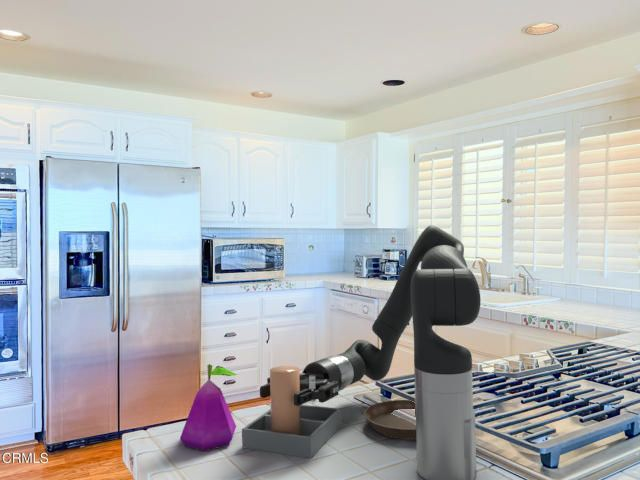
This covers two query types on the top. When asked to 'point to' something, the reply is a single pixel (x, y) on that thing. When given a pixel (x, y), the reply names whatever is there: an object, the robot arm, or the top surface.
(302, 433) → the divided storage tray
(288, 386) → the peach pillar candle
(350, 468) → the top surface
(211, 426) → the pear
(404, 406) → the object
